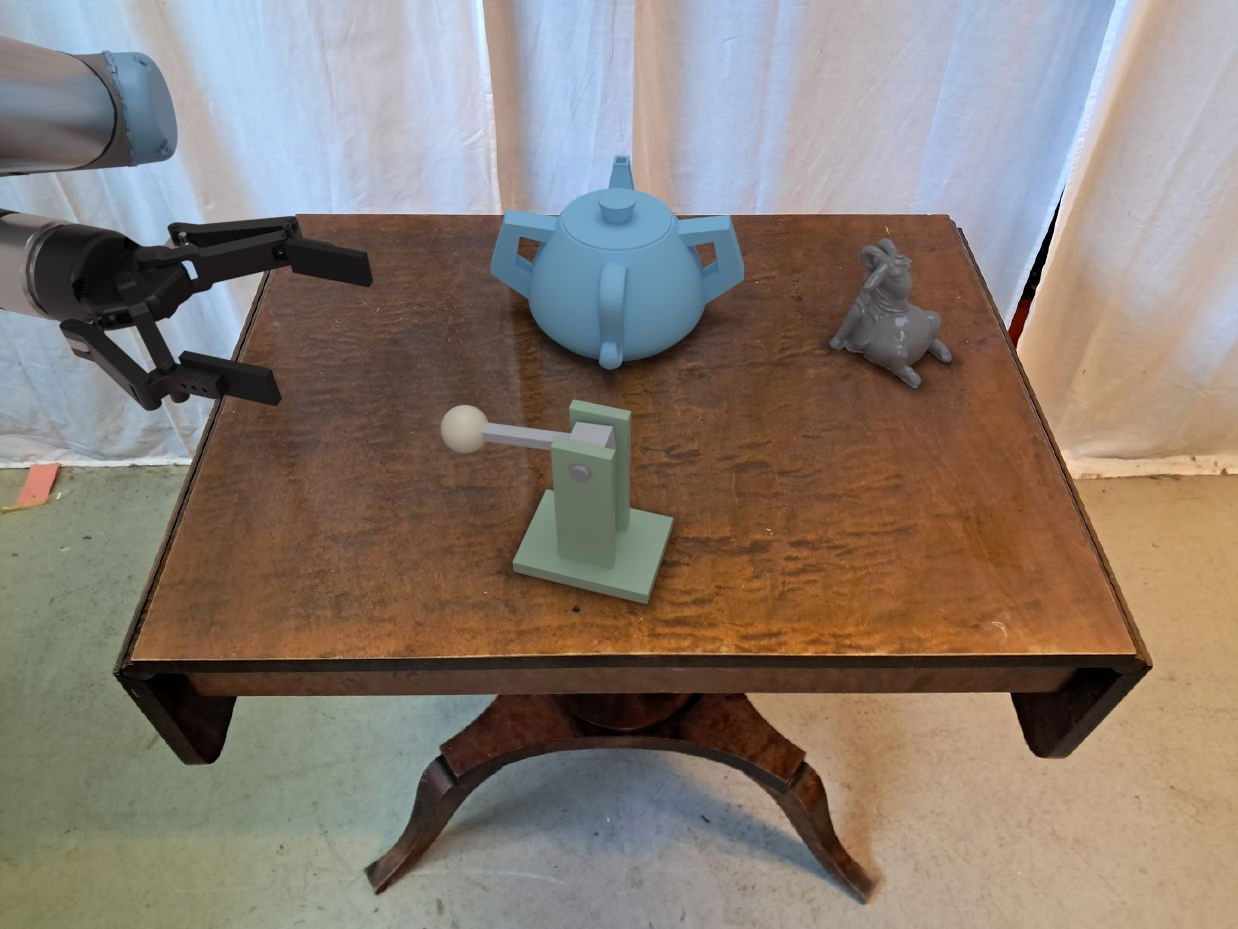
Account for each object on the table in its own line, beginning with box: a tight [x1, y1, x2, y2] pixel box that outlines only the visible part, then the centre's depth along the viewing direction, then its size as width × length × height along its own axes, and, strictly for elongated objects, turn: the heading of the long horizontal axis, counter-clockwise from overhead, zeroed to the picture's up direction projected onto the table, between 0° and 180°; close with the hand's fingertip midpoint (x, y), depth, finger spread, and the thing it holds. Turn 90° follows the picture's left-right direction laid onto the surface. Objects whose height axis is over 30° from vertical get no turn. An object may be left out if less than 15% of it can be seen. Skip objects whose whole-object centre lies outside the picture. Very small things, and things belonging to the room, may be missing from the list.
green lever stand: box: [512, 398, 674, 605], centre depth 71 cm, size 11×8×14 cm
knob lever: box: [440, 404, 616, 454], centre depth 69 cm, size 13×4×4 cm, turn 74°
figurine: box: [828, 237, 953, 389], centre depth 89 cm, size 8×10×11 cm
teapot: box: [489, 154, 745, 371], centre depth 92 cm, size 19×19×14 cm
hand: (324, 325), depth 67 cm, fingers open, 13 cm apart
